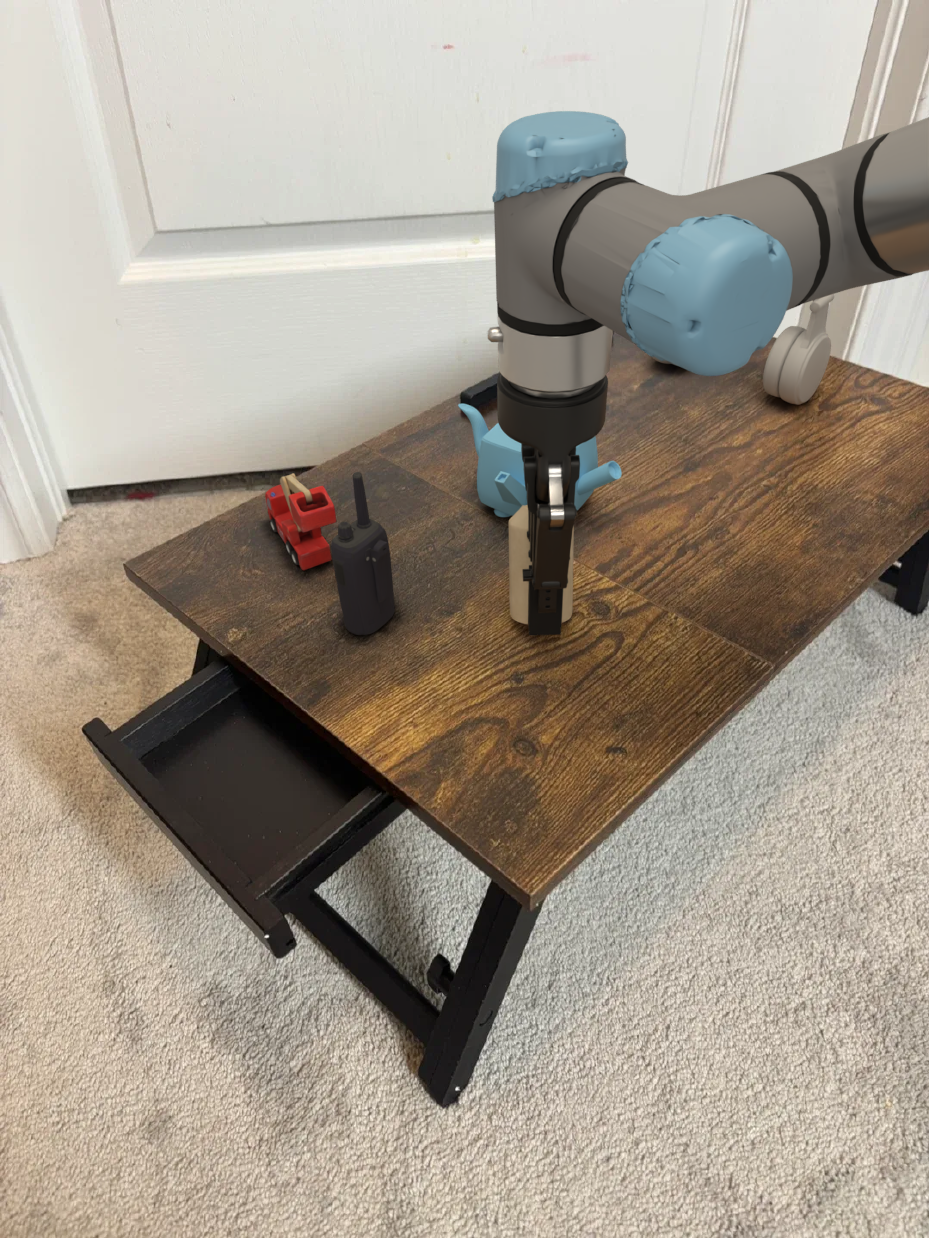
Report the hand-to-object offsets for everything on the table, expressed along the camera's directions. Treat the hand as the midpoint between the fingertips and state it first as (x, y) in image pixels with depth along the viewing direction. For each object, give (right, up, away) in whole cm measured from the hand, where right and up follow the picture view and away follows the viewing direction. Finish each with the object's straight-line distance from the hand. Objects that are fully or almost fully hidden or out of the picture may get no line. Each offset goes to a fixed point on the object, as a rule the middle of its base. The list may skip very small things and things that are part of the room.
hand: (544, 629), depth 78 cm
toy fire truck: (-22, +7, +13) cm, 27 cm away
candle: (0, +1, +3) cm, 3 cm away
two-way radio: (-15, 0, +5) cm, 15 cm away
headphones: (+26, +30, +35) cm, 53 cm away
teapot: (0, +12, +17) cm, 20 cm away
